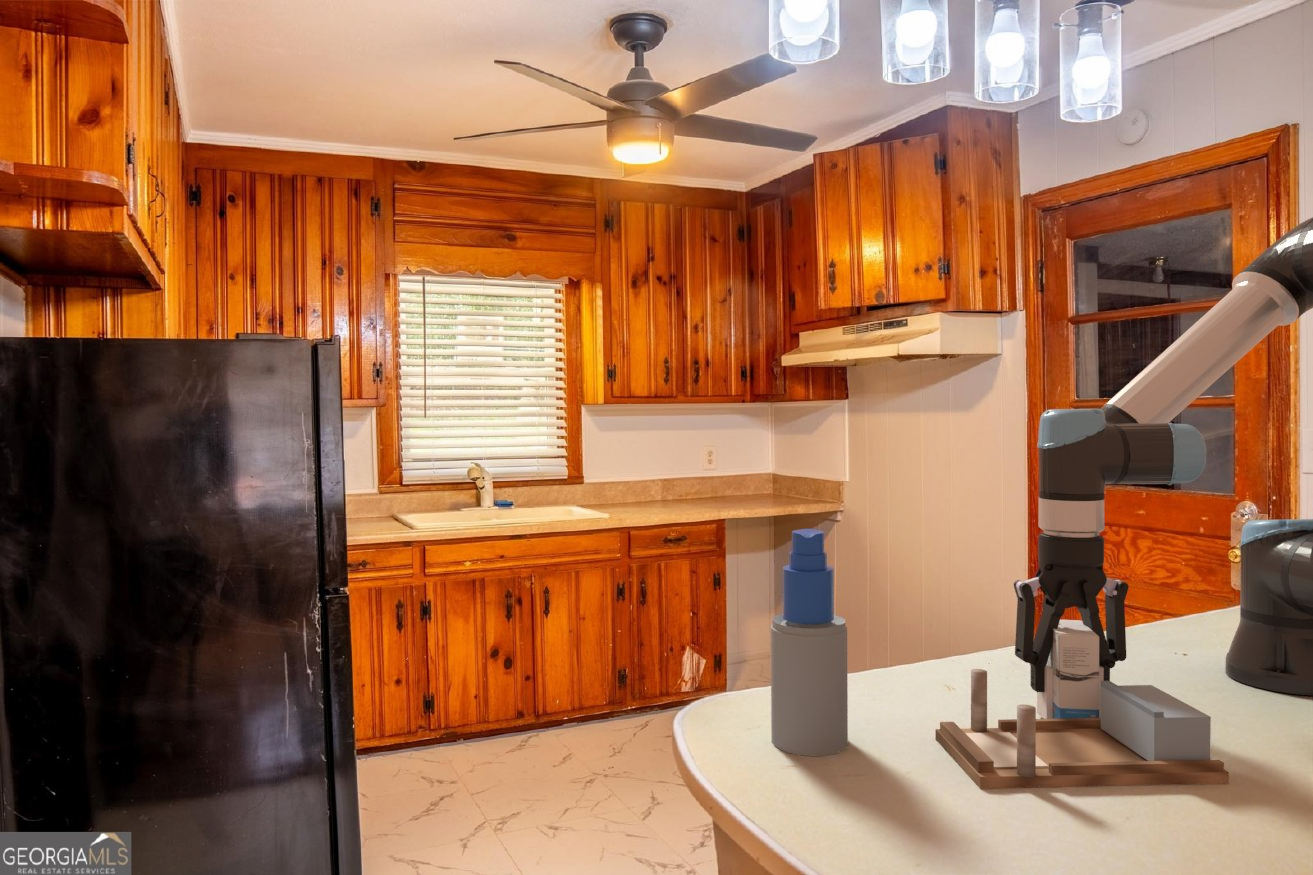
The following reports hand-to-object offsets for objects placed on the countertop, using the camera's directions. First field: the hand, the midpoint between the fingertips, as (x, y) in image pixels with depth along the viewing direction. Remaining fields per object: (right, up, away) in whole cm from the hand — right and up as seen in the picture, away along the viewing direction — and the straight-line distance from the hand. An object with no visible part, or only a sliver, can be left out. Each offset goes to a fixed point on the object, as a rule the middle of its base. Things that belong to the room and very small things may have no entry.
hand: (1069, 716), depth 114 cm
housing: (+3, +1, -13) cm, 13 cm away
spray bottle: (-34, -1, -7) cm, 35 cm away
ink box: (0, -1, 0) cm, 1 cm away
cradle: (-6, -1, -13) cm, 14 cm away
